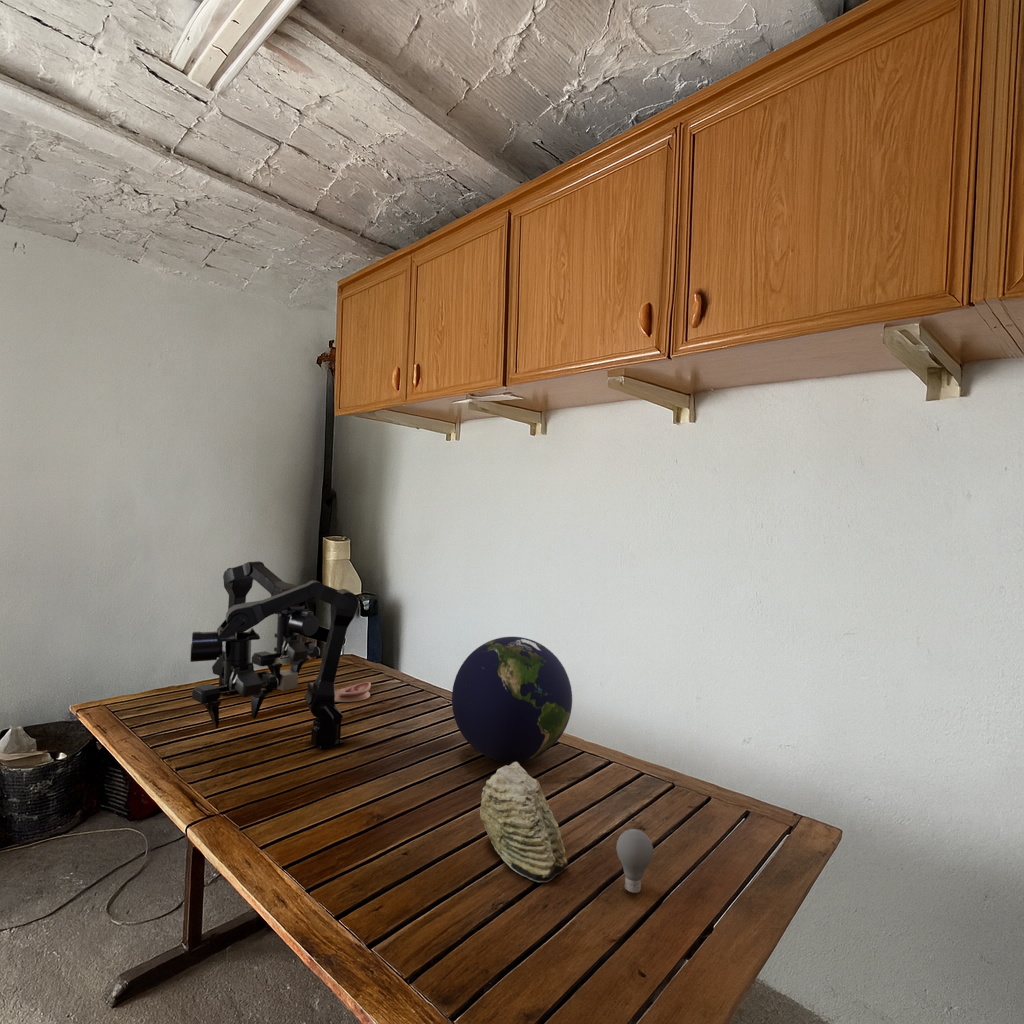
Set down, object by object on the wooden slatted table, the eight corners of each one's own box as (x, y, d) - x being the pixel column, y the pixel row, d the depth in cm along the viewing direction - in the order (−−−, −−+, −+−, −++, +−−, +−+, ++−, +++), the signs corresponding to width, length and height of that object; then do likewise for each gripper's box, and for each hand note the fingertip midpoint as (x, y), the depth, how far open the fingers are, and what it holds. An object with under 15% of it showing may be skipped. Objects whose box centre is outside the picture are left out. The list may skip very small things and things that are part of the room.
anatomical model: (319, 687, 195) (337, 677, 207) (319, 699, 195) (336, 689, 207) (359, 691, 193) (375, 681, 204) (359, 704, 193) (374, 693, 204)
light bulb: (610, 879, 108) (613, 822, 108) (644, 879, 109) (647, 822, 109) (619, 902, 102) (622, 840, 102) (655, 901, 103) (658, 840, 103)
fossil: (501, 827, 124) (504, 751, 124) (575, 868, 111) (578, 784, 111) (467, 843, 118) (470, 763, 118) (541, 889, 105) (545, 799, 105)
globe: (497, 727, 179) (502, 621, 178) (591, 755, 161) (596, 638, 161) (424, 759, 155) (429, 637, 154) (524, 797, 137) (530, 659, 137)
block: (274, 687, 184) (274, 671, 184) (288, 684, 187) (289, 669, 187) (282, 691, 181) (283, 675, 181) (297, 687, 184) (298, 672, 184)
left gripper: (272, 640, 172) (270, 697, 172) (331, 630, 186) (329, 683, 186) (251, 633, 179) (249, 688, 179) (310, 625, 193) (308, 675, 193)
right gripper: (214, 672, 140) (211, 742, 140) (291, 658, 154) (289, 722, 154) (192, 662, 147) (189, 729, 147) (267, 650, 161) (265, 710, 161)
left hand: (285, 684), depth 184 cm, fingers closed on block, 5 cm apart
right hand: (235, 722), depth 152 cm, fingers open, 9 cm apart
